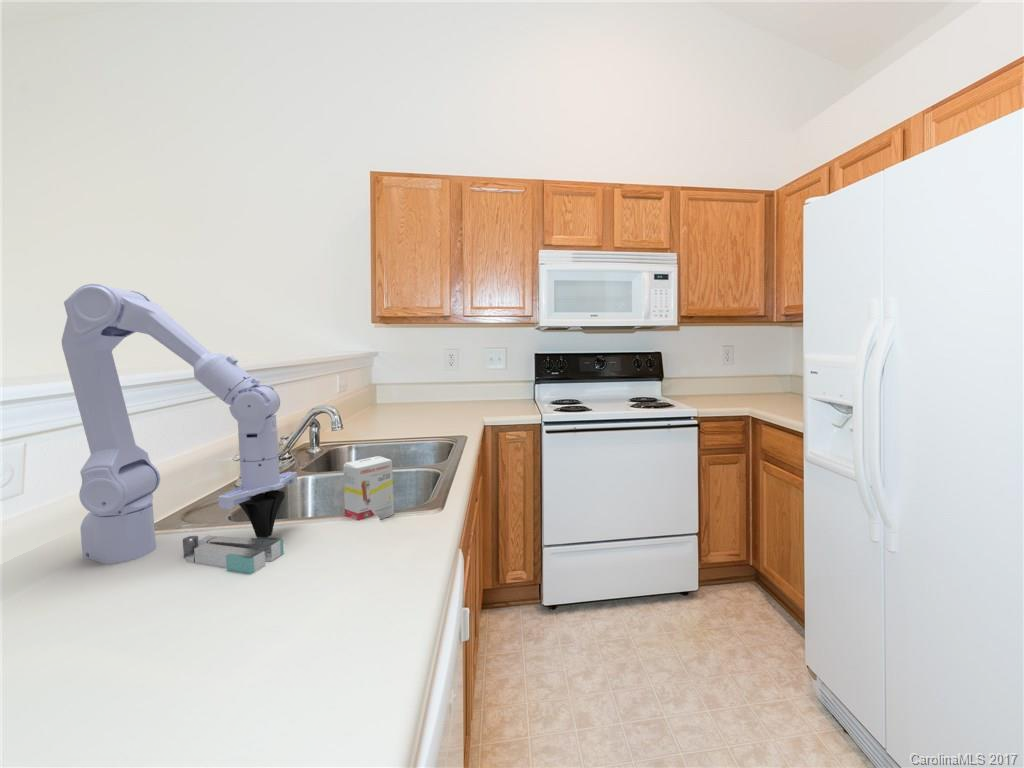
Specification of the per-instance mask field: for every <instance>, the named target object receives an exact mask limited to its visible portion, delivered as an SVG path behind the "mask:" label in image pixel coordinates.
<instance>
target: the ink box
mask: <svg viewBox="0 0 1024 768" xmlns="http://www.w3.org/2000/svg"><path fill="white" fill-rule="evenodd" d="M393 477H394V475H393V460H392V459H390V458H386V457H384V456H381V455H379V456H378V455H376V456H373V457H372V456H370V457H366V458H362V459H358V460H357V459H356V460H353V461H348V462H347V461H346V462H345V464H343V494H344V495H343V497H344V499H343V500H344V501H343V502H344V517H346V518H350V519H352V520H355V521H361V520H365V519H367V518H370V517H373V516H378V518H379V520H382V519H383V520H384V519H386V518H388V516H389V517H391V515H392V516H394V515H395V506H394V504H395V503H394V478H393ZM393 514H394V515H393ZM385 517H386V518H385Z"/></svg>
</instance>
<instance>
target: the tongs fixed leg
mask: <svg viewBox="0 0 1024 768" xmlns="http://www.w3.org/2000/svg"><path fill="white" fill-rule="evenodd" d="M198 540H199V536H198V535H190V536H187V537H184V538H182V548H183V551H182V552H183V558H184V559H185V563H189V564H199V565H204V566H210V567H217V568H224V569H226V572H233V573H237V574H238V573H240V574H245V575H252V574H254V573H255V572H257V571H259V570H261V569H262V568H264V567H266V561H265V552H264V551H262V550H254V549H247V548H239V547H231V546H224V545H216V544H208V543H206V544H203V545H201V546H199V547H198Z"/></svg>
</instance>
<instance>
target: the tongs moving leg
mask: <svg viewBox="0 0 1024 768" xmlns="http://www.w3.org/2000/svg"><path fill="white" fill-rule="evenodd" d="M206 543H208V544H216V545H224V546H231V547H239V548H247V549H254V550H262V551H264V552H265V562H274V561H275V560H276V559H278V558H279V557H281V556H282V555H284V552H285V551H284V538H280V537H270V536H269V537H256V538H253V537H252V538H251V537H238V536H237V537H236V536H222V535H210V534H209V535H206V536H203V537H202V538H200V539H198V547H199V546H201V545H203V544H206Z"/></svg>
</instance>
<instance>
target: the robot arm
mask: <svg viewBox="0 0 1024 768" xmlns="http://www.w3.org/2000/svg"><path fill="white" fill-rule="evenodd" d="M63 305H64V308H65V309H64V310H65V312H66V316H67V317H66V322H65V326H64V329H63V333H62V336H61V347H62V351H63V355H64V357H65V361H66V366H67V370H68V373H69V377H70V378H69V379H70V381H71V384H72V385H71V386H72V388H73V393H74V396H75V400H76V403H77V407H78V410H79V415H80V418H81V421H82V427H83V430H84V433H85V436H86V440H87V445H88V448H89V451H90V452H89V453H90V455H89V458H88V459H87V460H86V462H85V463H84V464H83V466H82V468H81V469H80V476H81V486H80V489H79V495H78V496H79V500H80V503H81V505H82V506H83V508H84V509H85V510H87V511H89V512H88V513H87V514H86V515H85V516H84V517H83V519H82V521H81V524H80V539H81V540H80V542H81V551H82V553H81V554H82V558H83V559H85V560H86V559H87V560H91V561H96V562H98V563H99V564H103V565H113V564H120V563H125V562H130V561H133V560H136V559H140V558H142V557H145V556H147V555H149V554H151V553H153V552H154V551H155V550H156V548H157V544H156V543H157V541H156V532H155V531H156V530H155V529H156V528H155V519H154V518H155V514H154V504H153V499H154V495H153V494H154V492H156V491H157V490H158V489H159V486H160V484H161V476H160V472H159V470H158V469H157V467H155V465H154V464H153V463H152V462H151V459H150V457H149V453H148V452H147V451H145V450H144V449H143V448H141V447H140V446H138V445H137V444H136V439H135V437H134V434H133V433H134V432H133V429H132V425H131V421H130V417H129V412H128V410H127V405H126V401H125V398H124V393H123V390H122V386H121V383H120V378H119V375H118V374H119V373H118V370H117V367H116V362H115V359H114V354H113V351H114V349H115V348H116V347H118V345H119V344H120V343H121V342H122V341H124V339H125V338H127V337H129V336H131V335H133V334H134V333H139V334H140V333H141V334H144V335H148V336H150V337H152V338H153V339H154V340H156V341H157V342H158V343H160V344H162V345H163V346H164V347H165V348H166V349H168V350H169V351H171V352H172V353H173V354H174V355H176V356H178V357H179V358H180V359H182V360H183V361H185V362H186V363H187V364H189V365H190V366H191V367H193V376H194V380H196V381H197V382H199V383H200V384H201V385H202V386H204V388H206V389H207V390H209V391H210V392H211V394H214V395H215V396H216V397H217V398H218V399H220V400H221V401H223V402H224V403H225V404H226V405H229V407H228V408H229V413H230V414H231V416H232V417H233V419H235V420H236V422H237V429H238V432H237V436H238V437H237V438H238V451H239V452H238V453H239V466H240V467H239V469H240V484H239V486H236V487H234V488H232V489H231V490H229V491H228V492H226V493H224V494H221V495H218V498H217V500H218V509H223V510H230V509H233V508H235V506H236V505H239V507H240V508H241V509H242V511H244V513H245V514H246V515H247V517H248V519H249V522H250V523H251V525H252V529H253V532H254V533H255V537H256V538H257V537H269V538H270V536H272V535H273V531H274V525H275V521H276V517H277V515H278V511H279V509H280V506H281V505H282V502H283V500H284V499H285V496H286V495H285V491H282V490H281V489H282V488H284V487H285V486H287V485H294V484H297V483H298V472H297V471H296V472H295V471H287V472H283V473H280V461H279V459H280V458H279V455H280V454H279V439H278V437H279V436H278V426H277V415H276V414H277V412H278V411H279V409H280V406H281V398H280V395H279V394H278V392H277V391H276V390H275V388H274V387H273V386H271V385H268V384H260V383H261V382H262V381H261V379H259V378H258V377H257V376H256V377H253V376H252V375H250V374H249V373H248V372H247V371H245V370H244V368H242V367H241V366H239V365H238V364H237V363H238V362H239V360H238V359H237V358H236V357H234V356H233V355H228V356H227V355H226V354H225V353H221V352H220V353H211V352H210V351H209V349H207V348H206V347H205V346H204V345H203V344H202V343H200V342H199V341H198V340H197V339H196V338H195V337H194V336H193V335H191V333H189V332H188V331H187V330H186V329H185V328H184V327H183V326H182V325H181V324H179V323H178V322H177V321H176V320H175V319H174V318H172V317H171V315H169V314H168V312H166V310H165V309H164V308H163V307H162V306H161V305H159V304H158V303H156V302H154V301H152V300H151V299H150V298H149V297H148V296H147V295H145V294H144V293H142V292H139V291H134V290H125V289H121V288H116V287H110V286H107V285H104V284H100V283H86V284H84V285H82V286H80V287H78V288H77V289H76V290H75V291H74V292H73V293H71V295H70V296H68V298H66V299H65V300H64V301H63Z"/></svg>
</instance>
